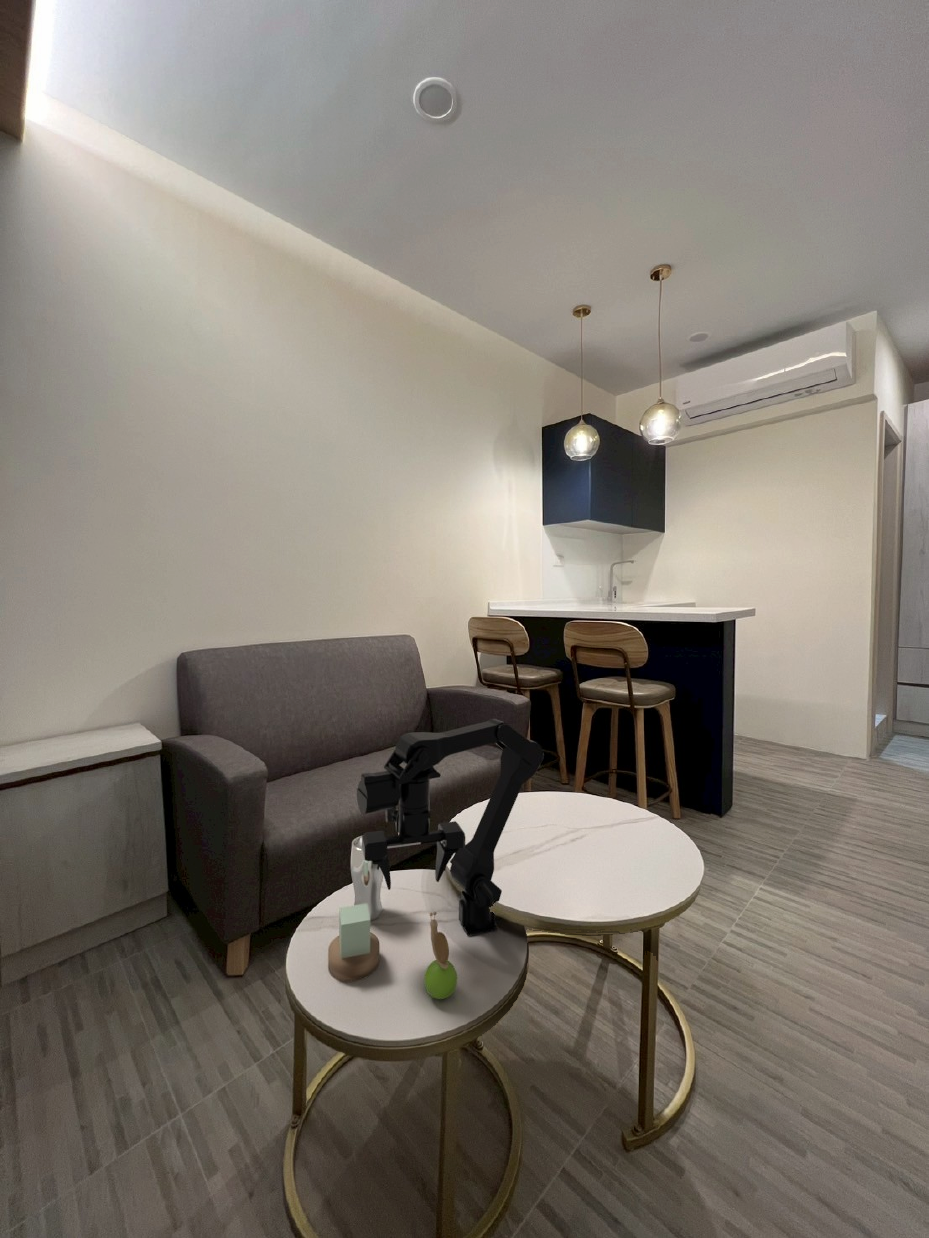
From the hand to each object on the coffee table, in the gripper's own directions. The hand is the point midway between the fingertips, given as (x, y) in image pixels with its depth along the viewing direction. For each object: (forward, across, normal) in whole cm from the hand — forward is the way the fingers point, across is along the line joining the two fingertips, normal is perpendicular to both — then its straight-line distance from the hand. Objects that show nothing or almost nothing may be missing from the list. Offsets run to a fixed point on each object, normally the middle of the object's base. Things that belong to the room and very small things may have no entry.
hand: (413, 884), depth 94 cm
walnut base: (+12, +11, +1) cm, 16 cm away
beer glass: (+12, +7, -13) cm, 19 cm away
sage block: (+9, +11, +1) cm, 14 cm away
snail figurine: (+12, -2, +12) cm, 17 cm away
